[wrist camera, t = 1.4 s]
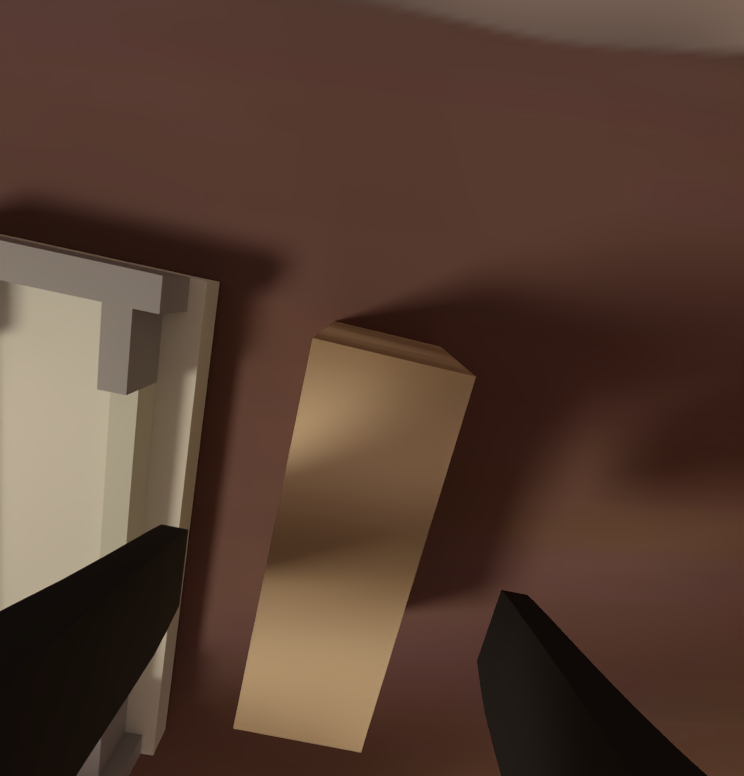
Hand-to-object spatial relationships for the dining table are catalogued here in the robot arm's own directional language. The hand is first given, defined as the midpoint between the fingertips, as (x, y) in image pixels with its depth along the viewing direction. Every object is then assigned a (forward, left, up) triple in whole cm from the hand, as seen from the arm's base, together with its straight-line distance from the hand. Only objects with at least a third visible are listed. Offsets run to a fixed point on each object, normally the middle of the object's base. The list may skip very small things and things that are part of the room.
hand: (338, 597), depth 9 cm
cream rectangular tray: (-4, +10, -6) cm, 12 cm away
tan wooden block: (0, 0, -6) cm, 6 cm away
